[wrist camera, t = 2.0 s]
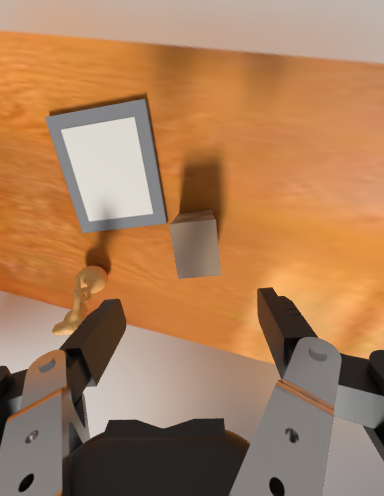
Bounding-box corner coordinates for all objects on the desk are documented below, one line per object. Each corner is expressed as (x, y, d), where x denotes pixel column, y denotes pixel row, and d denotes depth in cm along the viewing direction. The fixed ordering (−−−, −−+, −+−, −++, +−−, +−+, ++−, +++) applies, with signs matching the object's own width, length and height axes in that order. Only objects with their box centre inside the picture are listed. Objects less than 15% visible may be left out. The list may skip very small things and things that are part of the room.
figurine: (87, 245, 28) (10, 289, 17) (127, 254, 29) (77, 303, 17) (86, 292, 31) (19, 356, 20) (122, 300, 31) (76, 368, 20)
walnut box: (212, 208, 26) (215, 218, 19) (217, 251, 28) (220, 275, 21) (178, 212, 26) (169, 224, 19) (184, 255, 28) (178, 278, 21)
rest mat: (146, 101, 22) (144, 98, 21) (167, 222, 26) (166, 223, 26) (50, 119, 23) (44, 116, 22) (86, 231, 28) (82, 233, 27)
